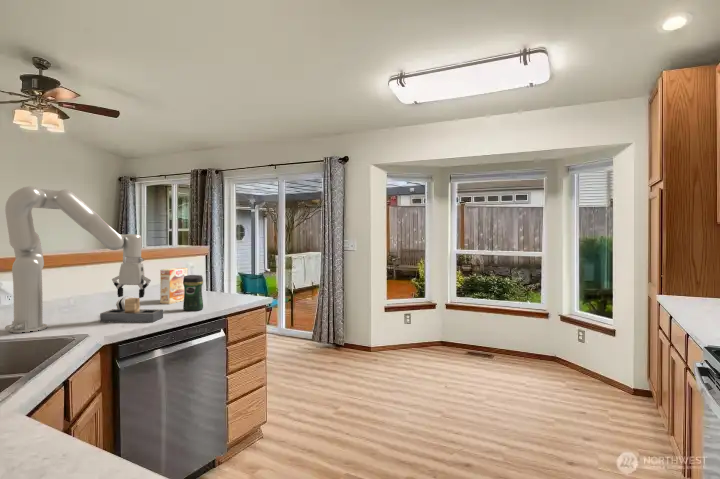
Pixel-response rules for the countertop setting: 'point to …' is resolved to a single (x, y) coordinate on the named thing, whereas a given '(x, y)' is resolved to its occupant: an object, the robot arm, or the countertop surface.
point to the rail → (131, 315)
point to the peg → (132, 305)
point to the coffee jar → (193, 293)
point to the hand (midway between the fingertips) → (130, 297)
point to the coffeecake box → (172, 285)
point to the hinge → (123, 302)
